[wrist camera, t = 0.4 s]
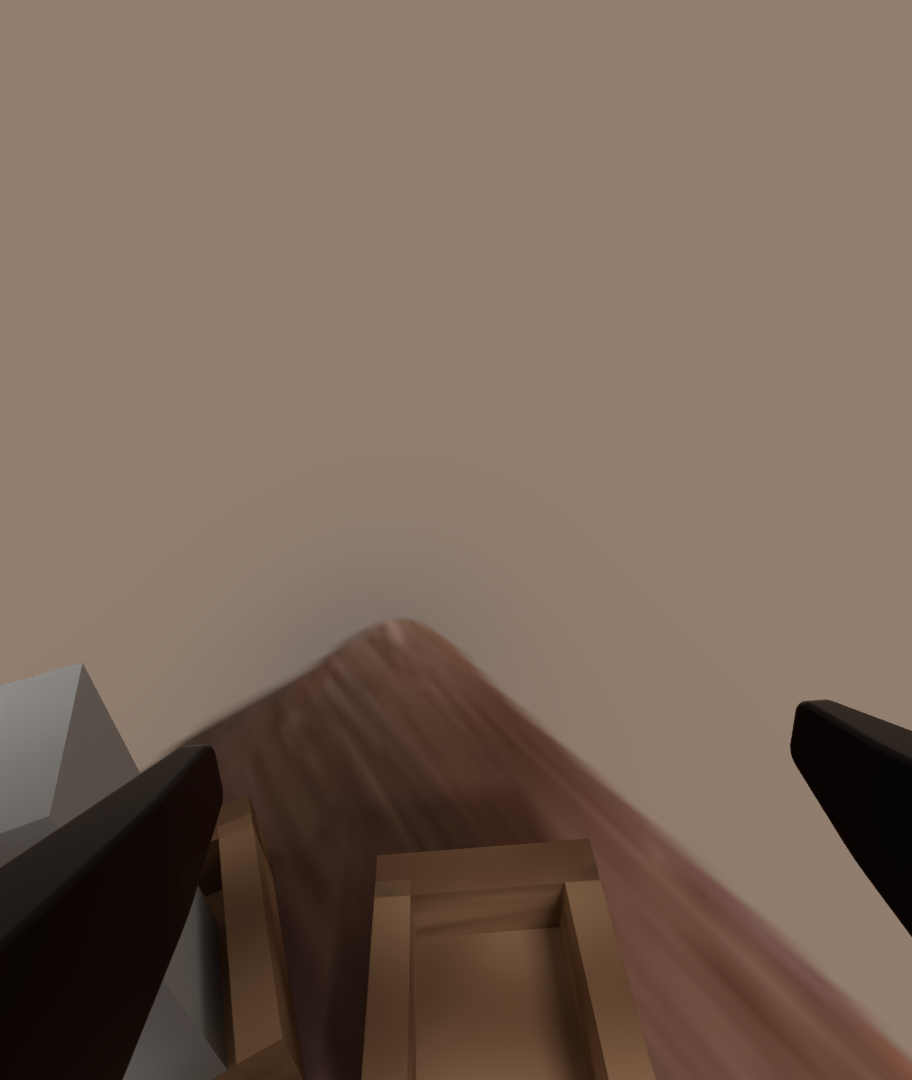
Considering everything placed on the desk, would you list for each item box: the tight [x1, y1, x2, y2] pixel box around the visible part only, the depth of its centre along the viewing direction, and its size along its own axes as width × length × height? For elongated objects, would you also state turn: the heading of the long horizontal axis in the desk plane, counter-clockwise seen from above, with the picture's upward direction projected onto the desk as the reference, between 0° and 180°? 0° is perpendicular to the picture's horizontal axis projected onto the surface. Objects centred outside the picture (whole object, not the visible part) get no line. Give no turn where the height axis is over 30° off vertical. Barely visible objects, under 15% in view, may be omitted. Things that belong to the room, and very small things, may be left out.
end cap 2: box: [361, 839, 656, 1080], centre depth 16 cm, size 8×8×4 cm
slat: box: [0, 663, 227, 1080], centre depth 14 cm, size 4×4×13 cm
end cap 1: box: [198, 794, 306, 1080], centre depth 17 cm, size 8×8×4 cm
